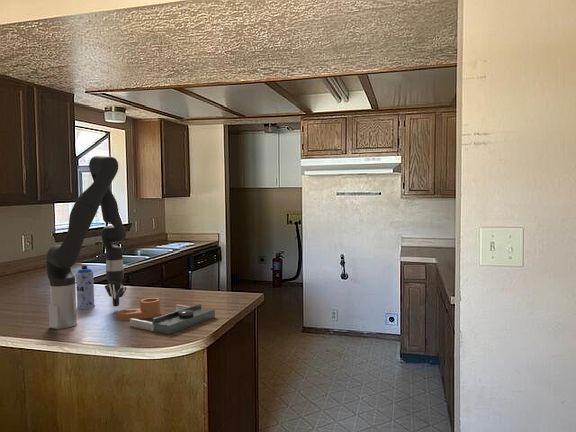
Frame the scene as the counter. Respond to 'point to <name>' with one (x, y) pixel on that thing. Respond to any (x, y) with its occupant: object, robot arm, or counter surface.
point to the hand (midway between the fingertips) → (116, 306)
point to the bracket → (141, 310)
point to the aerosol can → (85, 288)
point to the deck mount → (176, 319)
